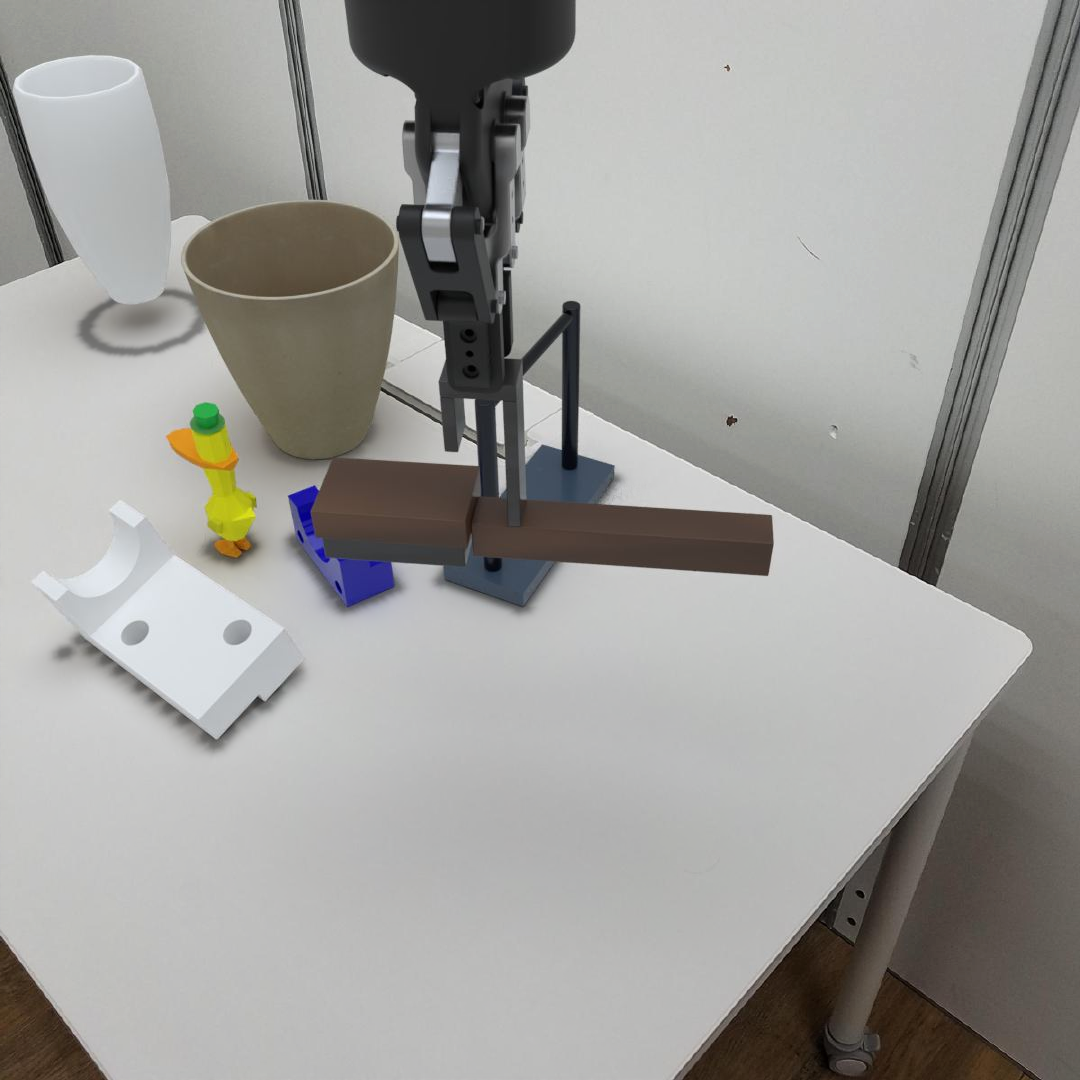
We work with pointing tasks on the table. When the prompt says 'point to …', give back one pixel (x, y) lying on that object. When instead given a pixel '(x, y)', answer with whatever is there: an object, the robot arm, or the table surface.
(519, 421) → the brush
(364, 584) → the cable holder
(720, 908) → the table surface
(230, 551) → the toy figure
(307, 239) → the plant pot
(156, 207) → the cup
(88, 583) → the bracket
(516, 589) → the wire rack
